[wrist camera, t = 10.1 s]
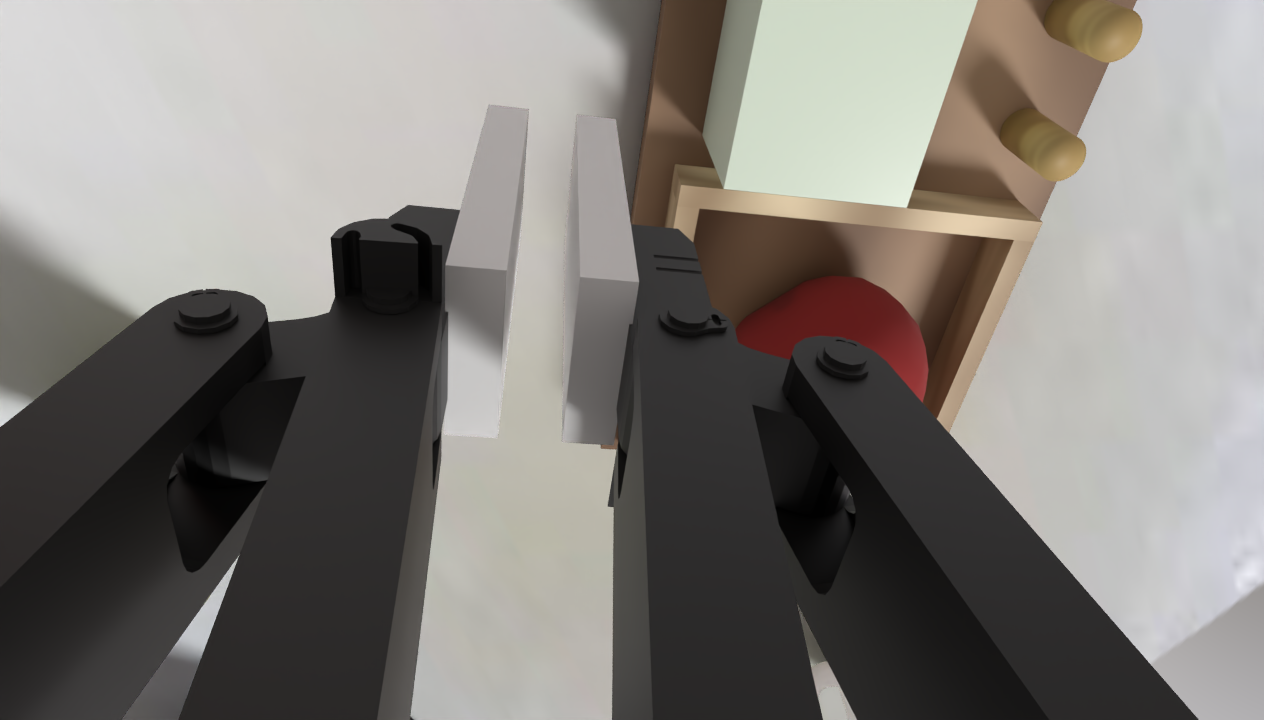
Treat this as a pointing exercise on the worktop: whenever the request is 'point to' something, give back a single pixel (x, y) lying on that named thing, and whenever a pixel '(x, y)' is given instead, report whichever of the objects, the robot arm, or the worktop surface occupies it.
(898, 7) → the block
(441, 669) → the worktop surface
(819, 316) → the tomato
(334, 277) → the robot arm
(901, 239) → the housing base
